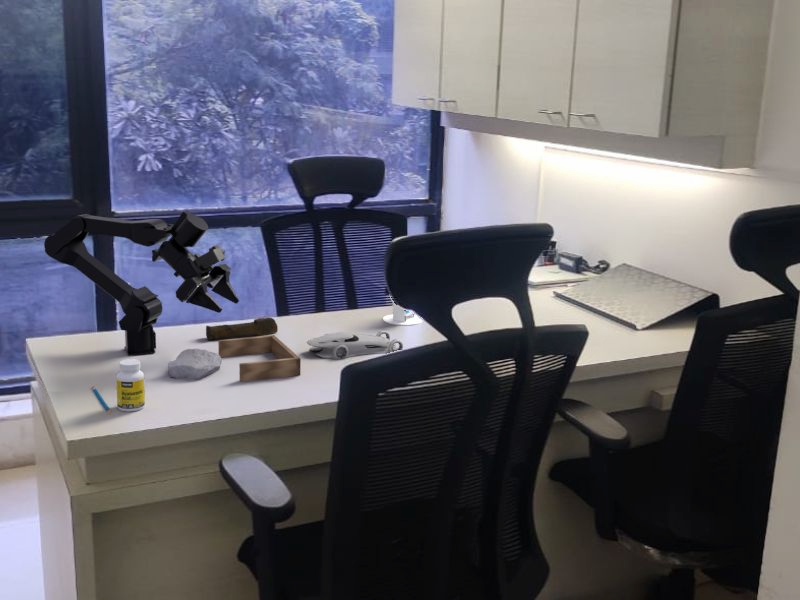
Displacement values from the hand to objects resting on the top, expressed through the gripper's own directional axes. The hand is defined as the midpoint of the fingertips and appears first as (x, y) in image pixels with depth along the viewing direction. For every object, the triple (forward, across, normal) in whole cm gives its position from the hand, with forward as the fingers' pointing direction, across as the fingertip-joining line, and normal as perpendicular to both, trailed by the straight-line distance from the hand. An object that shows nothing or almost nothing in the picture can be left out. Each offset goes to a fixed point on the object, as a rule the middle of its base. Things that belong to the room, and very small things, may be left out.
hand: (229, 306), depth 211 cm
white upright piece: (+31, +52, -8) cm, 61 cm away
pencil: (-1, -33, +20) cm, 38 cm away
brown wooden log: (+4, +21, +15) cm, 26 cm away
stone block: (+6, -9, +14) cm, 17 cm away
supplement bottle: (+4, -34, +14) cm, 37 cm away
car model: (+28, +20, -5) cm, 35 cm away
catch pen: (+14, 0, +6) cm, 15 cm away
